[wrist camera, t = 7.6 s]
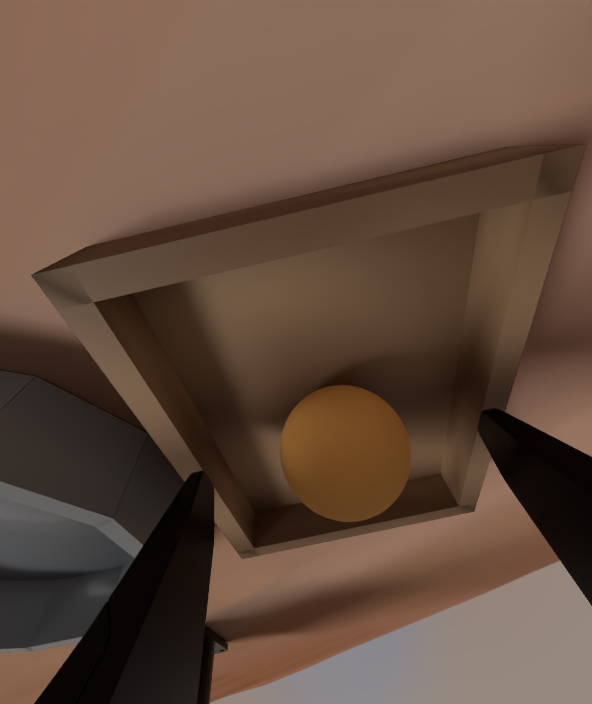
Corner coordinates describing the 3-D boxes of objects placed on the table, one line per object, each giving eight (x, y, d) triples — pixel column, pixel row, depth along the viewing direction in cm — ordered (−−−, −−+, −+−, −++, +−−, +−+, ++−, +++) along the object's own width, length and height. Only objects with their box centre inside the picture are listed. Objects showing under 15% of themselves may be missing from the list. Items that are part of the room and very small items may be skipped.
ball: (383, 427, 12) (432, 531, 9) (288, 449, 12) (301, 560, 9) (380, 349, 10) (445, 448, 6) (264, 375, 10) (267, 486, 6)
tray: (448, 468, 15) (474, 511, 13) (244, 511, 15) (242, 559, 14) (504, 147, 7) (586, 144, 5) (86, 247, 8) (31, 274, 6)
